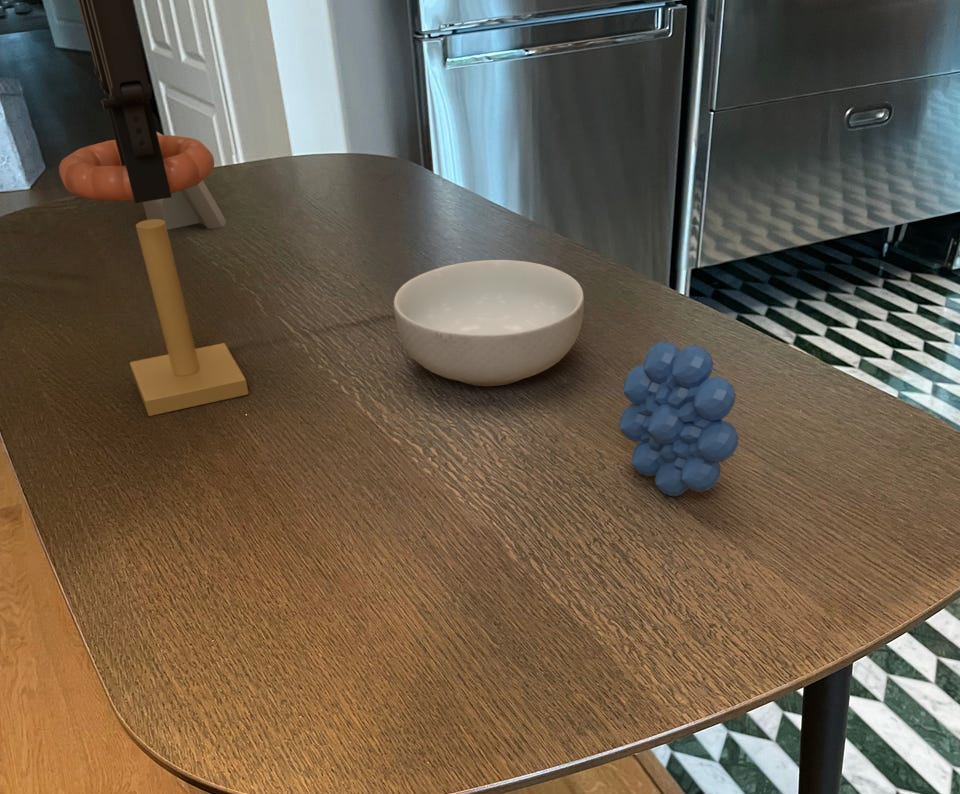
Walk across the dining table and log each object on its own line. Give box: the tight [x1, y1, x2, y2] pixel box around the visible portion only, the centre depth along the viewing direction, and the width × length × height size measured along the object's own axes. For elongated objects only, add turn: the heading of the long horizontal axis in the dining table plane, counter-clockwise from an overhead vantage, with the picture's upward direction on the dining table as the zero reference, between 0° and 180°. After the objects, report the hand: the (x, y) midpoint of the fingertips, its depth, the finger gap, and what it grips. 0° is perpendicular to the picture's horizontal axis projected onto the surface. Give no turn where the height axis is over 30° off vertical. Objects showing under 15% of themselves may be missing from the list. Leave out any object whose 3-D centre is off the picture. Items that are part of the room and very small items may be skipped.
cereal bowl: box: [393, 259, 585, 387], centre depth 90 cm, size 17×17×7 cm
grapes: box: [618, 340, 739, 497], centre depth 71 cm, size 12×7×12 cm, turn 31°
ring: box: [58, 134, 215, 202], centre depth 80 cm, size 12×12×2 cm
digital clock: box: [142, 131, 228, 231], centre depth 126 cm, size 16×9×11 cm, turn 20°
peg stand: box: [129, 219, 250, 417], centre depth 88 cm, size 9×9×14 cm
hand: (149, 192), depth 78 cm, fingers closed on ring, 3 cm apart
